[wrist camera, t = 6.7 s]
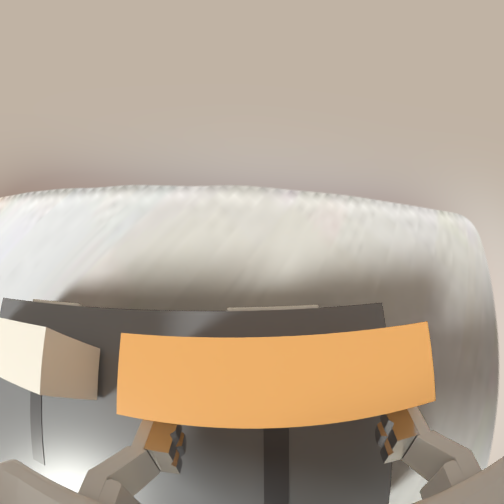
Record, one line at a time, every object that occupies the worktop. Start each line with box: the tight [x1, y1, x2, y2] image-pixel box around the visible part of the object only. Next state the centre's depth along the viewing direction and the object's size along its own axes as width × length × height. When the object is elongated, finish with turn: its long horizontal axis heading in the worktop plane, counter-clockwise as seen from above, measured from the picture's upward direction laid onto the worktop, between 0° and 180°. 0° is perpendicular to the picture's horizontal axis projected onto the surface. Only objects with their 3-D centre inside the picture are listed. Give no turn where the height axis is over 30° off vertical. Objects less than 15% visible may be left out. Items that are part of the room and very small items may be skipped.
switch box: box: [0, 298, 392, 504], centre depth 12 cm, size 23×27×5 cm
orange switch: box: [116, 321, 436, 429], centre depth 10 cm, size 3×11×5 cm, turn 91°
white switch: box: [0, 318, 100, 400], centre depth 11 cm, size 3×11×5 cm, turn 91°
